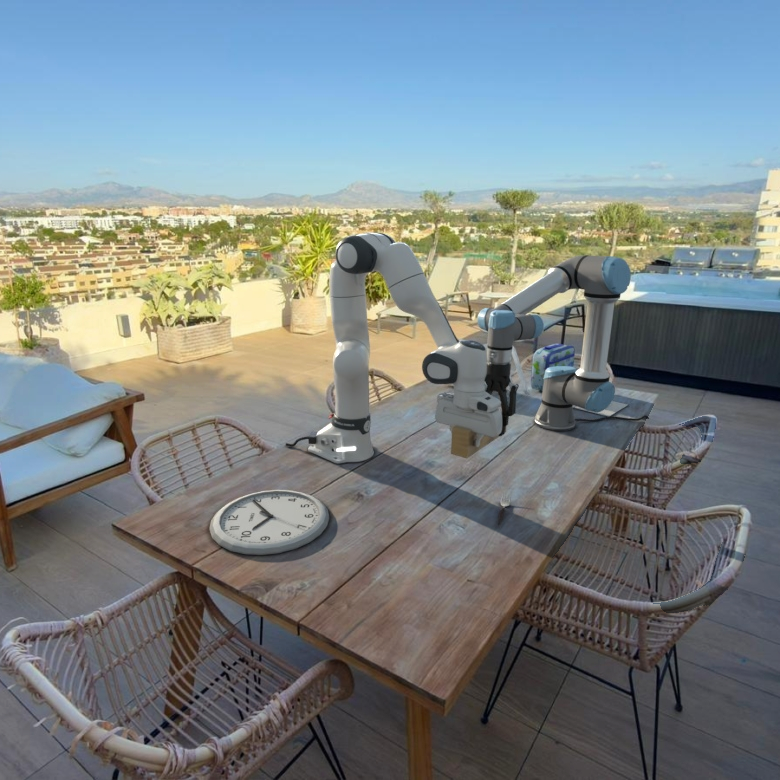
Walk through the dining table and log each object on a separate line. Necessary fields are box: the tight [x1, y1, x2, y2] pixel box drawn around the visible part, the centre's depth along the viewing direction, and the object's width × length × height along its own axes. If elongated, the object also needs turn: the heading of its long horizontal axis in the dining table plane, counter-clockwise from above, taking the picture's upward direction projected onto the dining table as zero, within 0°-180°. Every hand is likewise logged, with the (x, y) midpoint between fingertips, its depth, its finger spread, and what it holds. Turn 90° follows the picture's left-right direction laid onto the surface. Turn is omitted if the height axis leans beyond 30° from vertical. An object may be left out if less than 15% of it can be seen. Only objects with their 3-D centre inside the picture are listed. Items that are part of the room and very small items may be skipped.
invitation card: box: [573, 400, 629, 417], centre depth 226 cm, size 21×1×15 cm
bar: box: [450, 406, 507, 460], centre depth 159 cm, size 26×5×8 cm, turn 143°
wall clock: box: [209, 489, 330, 556], centre depth 135 cm, size 30×2×30 cm
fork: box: [497, 491, 512, 526], centre depth 140 cm, size 3×16×2 cm, turn 160°
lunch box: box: [530, 343, 576, 391], centre depth 249 cm, size 26×11×21 cm, turn 134°
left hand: (466, 443), depth 152 cm, fingers closed on bar, 5 cm apart
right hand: (492, 432), depth 166 cm, fingers closed on bar, 5 cm apart
